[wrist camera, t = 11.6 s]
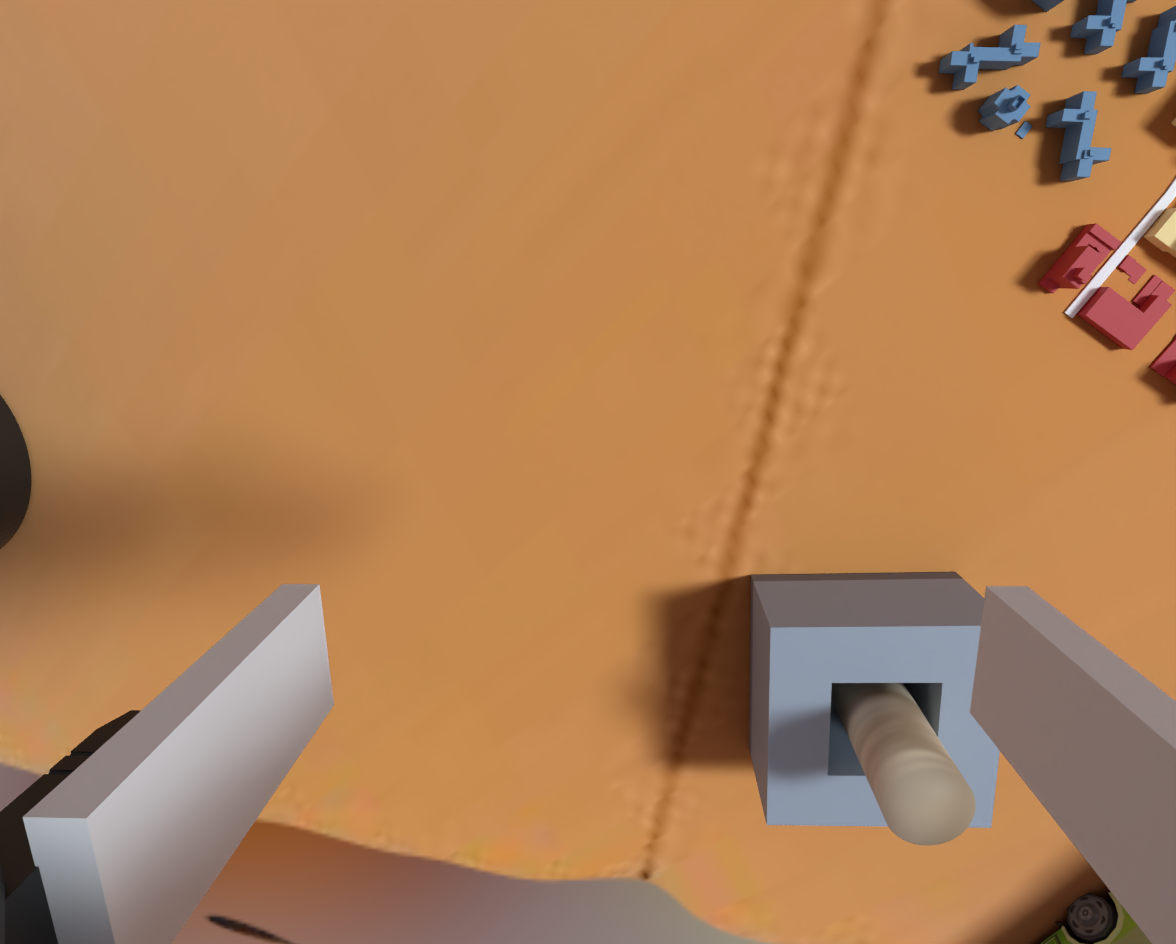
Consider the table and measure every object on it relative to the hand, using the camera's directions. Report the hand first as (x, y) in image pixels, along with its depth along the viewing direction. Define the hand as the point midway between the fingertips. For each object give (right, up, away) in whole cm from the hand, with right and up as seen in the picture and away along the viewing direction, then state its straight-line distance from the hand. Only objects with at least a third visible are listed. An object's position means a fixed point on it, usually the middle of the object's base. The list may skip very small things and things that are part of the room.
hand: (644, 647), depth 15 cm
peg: (+15, -9, +30) cm, 35 cm away
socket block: (+15, -8, +31) cm, 35 cm away
